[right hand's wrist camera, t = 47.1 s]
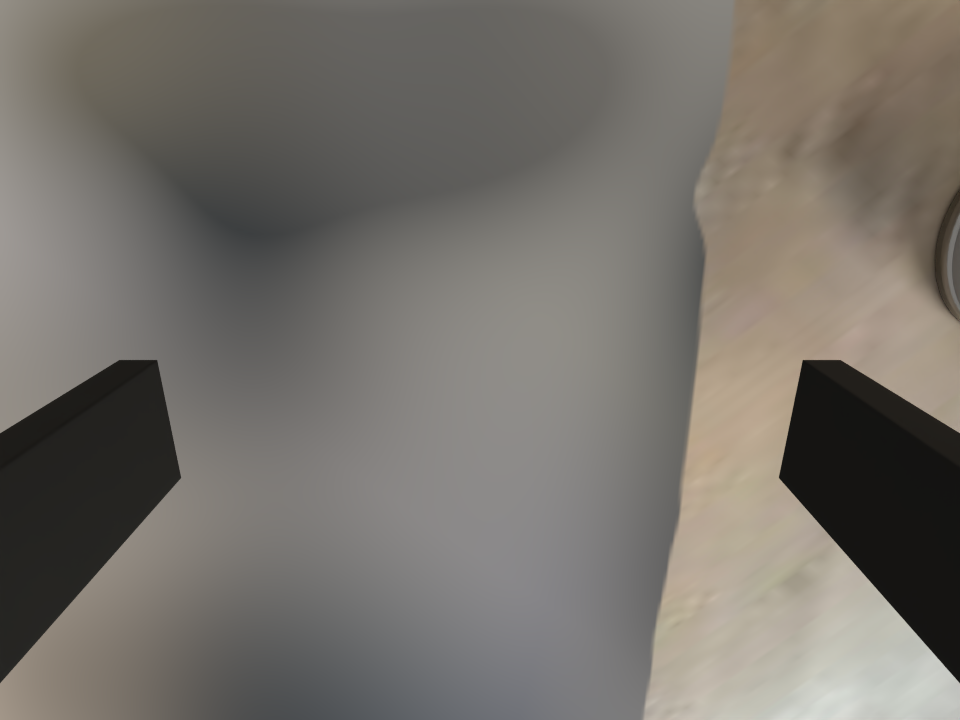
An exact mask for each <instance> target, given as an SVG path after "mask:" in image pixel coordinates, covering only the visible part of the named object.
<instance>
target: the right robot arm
mask: <svg viewBox="0 0 960 720" xmlns="http://www.w3.org/2000/svg"><path fill="white" fill-rule="evenodd" d="M935 272H936V279H937V284H938V288H939V291H940V294H941V296H942V299H943V301H944V302H945V304H946V306H947V308H948V309H949V310H950V312H951V313H952V314H953V315H954V316H955V318H956V319H957V320H958V321H960V190H959V192H958V193H957V195H956V197H955V198H954V200H953V202H952V204H951V205H950V208H949V210H948V212H947V214H946V216H945V219H944V221H943V224H942V227H941V230H940V233H939V237H938V241H937V247H936V256H935ZM180 478H181V475H180V470H179V465H178V460H177V456H176V451H175V446H174V441H173V436H172V431H171V426H170V421H169V416H168V411H167V406H166V402H165V397H164V392H163V387H162V382H161V377H160V372H159V367H158V362H157V360H119V361H117V362H116V363H114V364H112V365H111V366H109V367H107V368H106V369H104V370H103V371H101V372H99V373H98V374H96V375H95V376H93V377H91V378H90V379H88V380H86V381H85V382H83V383H82V384H80V385H78V386H77V387H75V388H73V389H72V390H70V391H69V392H67V393H65V394H64V395H62V396H60V397H59V398H57V399H55V400H54V401H52V402H51V403H49V404H47V405H46V406H44V407H42V408H41V409H39V410H37V411H36V412H34V413H33V414H31V415H29V416H28V417H26V418H24V419H23V420H21V421H20V422H18V423H16V424H15V425H13V426H11V427H10V428H8V429H7V430H5V431H3V432H2V433H0V683H1V681H2V680H3V679H4V678H5V677H6V676H7V675H8V674H9V672H10V671H11V670H12V669H13V668H14V667H15V666H16V664H17V663H18V662H19V661H20V660H21V659H22V658H23V657H24V655H25V654H26V653H27V652H28V651H29V650H30V649H31V647H32V646H33V645H34V644H35V643H36V642H37V641H38V639H39V638H40V637H41V636H42V635H43V634H44V633H45V632H46V630H47V629H48V628H49V627H50V626H51V625H52V624H53V622H54V621H55V620H56V619H57V618H58V617H59V616H60V615H61V613H62V612H63V611H64V610H65V609H66V608H67V607H68V605H69V604H70V603H71V602H72V601H73V600H74V599H75V598H76V596H77V595H78V594H79V593H80V592H81V591H82V589H83V588H84V587H85V586H86V585H87V584H88V583H89V582H90V581H91V579H92V578H93V577H94V576H95V575H96V574H97V573H98V571H99V570H100V569H101V568H102V567H103V566H104V565H105V563H106V562H107V561H108V560H109V559H110V558H111V557H112V556H113V554H114V553H115V552H116V551H117V550H118V549H119V548H120V546H121V545H122V544H123V543H124V542H125V541H126V540H127V539H128V537H129V536H130V535H131V534H132V533H133V532H134V531H135V529H136V528H137V527H138V526H139V525H140V524H141V523H142V522H143V520H144V519H145V518H146V517H147V516H148V515H149V514H150V512H151V511H152V510H153V509H154V508H155V507H156V506H157V505H158V503H159V502H160V501H161V500H162V499H163V498H164V497H165V495H166V494H167V493H168V492H169V491H170V490H171V489H172V488H173V486H174V485H175V484H176V483H177V482H178V481H179V480H180ZM779 478H780V480H781V481H782V482H783V483H784V484H785V485H786V486H787V488H788V489H789V490H790V491H791V492H792V493H793V494H794V495H795V497H796V498H797V499H798V500H799V501H800V502H801V503H802V505H803V506H804V507H805V508H806V509H807V510H808V511H809V512H810V514H811V515H812V516H813V517H814V518H815V519H816V520H817V522H818V523H819V524H820V525H821V526H822V527H823V528H824V529H825V531H826V532H827V533H828V534H829V535H830V536H831V537H832V539H833V540H834V541H835V542H836V543H837V544H838V545H839V547H840V548H841V549H842V550H843V551H844V552H845V553H846V554H847V556H848V557H849V558H850V559H851V560H852V561H853V562H854V564H855V565H856V566H857V567H858V568H859V569H860V570H861V571H862V573H863V574H864V575H865V576H866V577H867V578H868V579H869V581H870V582H871V583H872V584H873V585H874V586H875V587H876V588H877V590H878V591H879V592H880V593H881V594H882V595H883V596H884V598H885V599H886V600H887V601H888V602H889V603H890V604H891V605H892V607H893V608H894V609H895V610H896V611H897V612H898V613H899V615H900V616H901V617H902V618H903V619H904V620H905V621H906V623H907V624H908V625H909V626H910V627H911V628H912V629H913V630H914V632H915V633H916V634H917V635H918V636H919V637H920V638H921V640H922V641H923V642H924V643H925V644H926V645H927V646H928V647H929V649H930V650H931V651H932V652H933V653H934V654H935V655H936V657H937V658H938V659H939V660H940V661H941V662H942V663H943V664H944V666H945V667H946V668H947V669H948V670H949V671H950V672H951V674H952V675H953V676H954V677H955V678H956V679H957V680H958V682H959V683H960V433H958V432H957V431H955V430H953V429H952V428H950V427H949V426H947V425H945V424H944V423H942V422H940V421H939V420H937V419H936V418H934V417H932V416H931V415H929V414H927V413H926V412H924V411H923V410H921V409H919V408H918V407H916V406H914V405H913V404H911V403H909V402H908V401H906V400H905V399H903V398H901V397H900V396H898V395H896V394H895V393H893V392H892V391H890V390H888V389H887V388H885V387H883V386H882V385H880V384H879V383H877V382H875V381H874V380H872V379H870V378H869V377H867V376H866V375H864V374H862V373H861V372H859V371H857V370H856V369H854V368H853V367H851V366H849V365H848V364H846V363H844V362H843V361H841V360H803V362H802V367H801V372H800V377H799V382H798V387H797V392H796V397H795V401H794V406H793V411H792V416H791V421H790V426H789V431H788V436H787V441H786V446H785V451H784V455H783V460H782V465H781V470H780V475H779Z"/></svg>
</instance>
